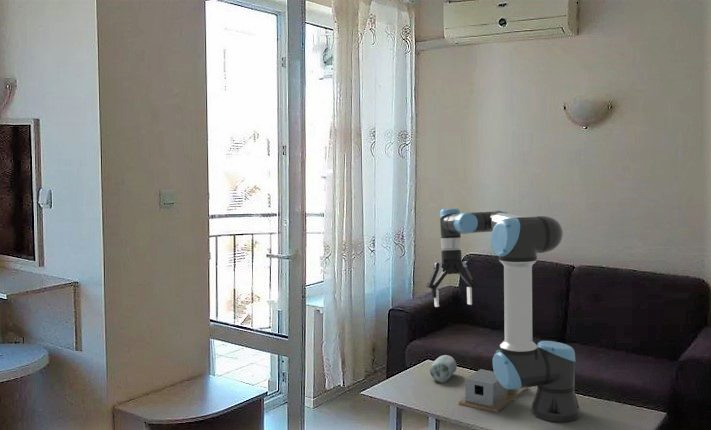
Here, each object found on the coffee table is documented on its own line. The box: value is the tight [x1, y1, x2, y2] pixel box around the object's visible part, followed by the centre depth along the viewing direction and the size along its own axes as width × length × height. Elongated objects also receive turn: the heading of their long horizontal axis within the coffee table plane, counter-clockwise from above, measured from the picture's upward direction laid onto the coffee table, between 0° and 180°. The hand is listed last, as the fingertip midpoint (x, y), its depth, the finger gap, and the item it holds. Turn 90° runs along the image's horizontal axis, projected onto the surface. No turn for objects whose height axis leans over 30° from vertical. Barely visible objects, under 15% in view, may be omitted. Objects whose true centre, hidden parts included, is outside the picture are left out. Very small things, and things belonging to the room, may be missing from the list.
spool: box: [429, 354, 458, 383], centre depth 263 cm, size 14×10×10 cm
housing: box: [458, 368, 529, 414], centre depth 244 cm, size 27×14×9 cm, turn 145°
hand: (453, 305), depth 265 cm, fingers open, 13 cm apart
